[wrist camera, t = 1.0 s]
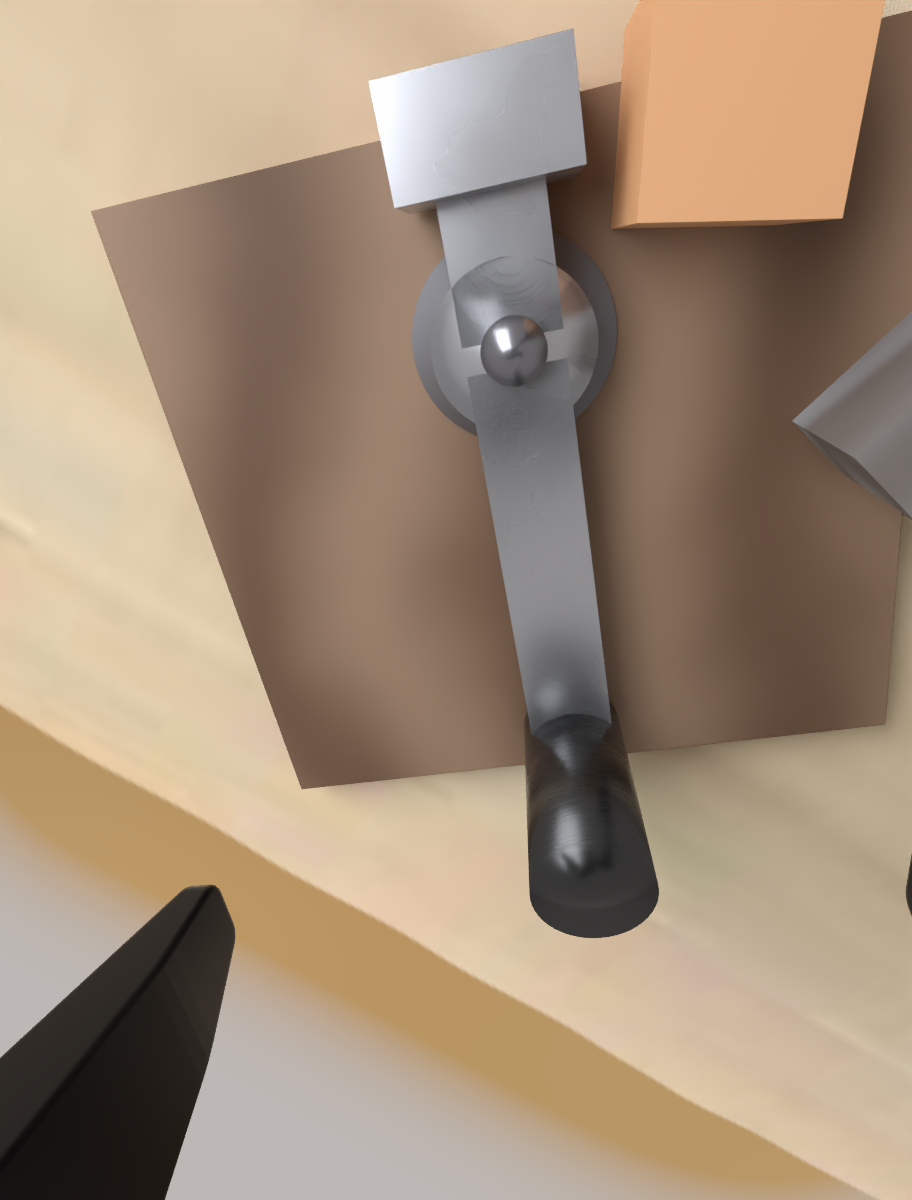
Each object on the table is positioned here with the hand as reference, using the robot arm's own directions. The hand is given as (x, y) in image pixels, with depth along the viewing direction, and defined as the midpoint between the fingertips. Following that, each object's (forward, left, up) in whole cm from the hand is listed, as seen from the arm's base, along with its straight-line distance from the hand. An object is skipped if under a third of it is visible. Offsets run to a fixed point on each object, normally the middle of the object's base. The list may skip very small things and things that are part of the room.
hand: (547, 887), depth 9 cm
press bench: (-2, -2, -12) cm, 12 cm away
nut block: (-5, -9, -11) cm, 15 cm away
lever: (0, -2, -11) cm, 11 cm away
